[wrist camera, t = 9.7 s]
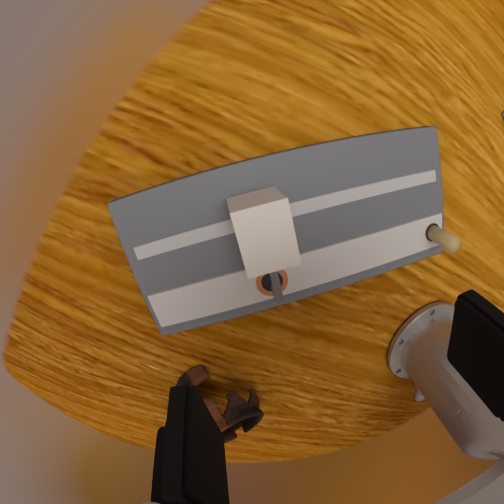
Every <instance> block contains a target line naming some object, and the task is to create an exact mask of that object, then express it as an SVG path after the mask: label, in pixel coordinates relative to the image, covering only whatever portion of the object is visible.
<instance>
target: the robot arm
mask: <svg viewBox="0 0 504 504" xmlns="http://www.w3.org/2000/svg"><path fill="white" fill-rule="evenodd" d="M387 361H388V365H389V368H390V369H391V371H392V372H393V374H395V375H396V376H397V377H400V378H411V379H412V381H413V382H414V383H415V384H414V385H415V387H416V388H415V393H414V399H415V400H416V401H422V400H424V399H426V400H427V402H428V403H429V405H430V406H431V407H432V409H433V410H434V412H435V413H436V415H437V416H438V417H439V419H440V420H441V422H442V423H443V425H444V426H445V428H446V429H447V430H448V432H449V434H450V435H451V436H452V438H453V439H454V441H455V442H456V444H457V445H458V447H459V448H460V450H461V451H462V452H463V453H465V454H466V455H468V456H470V457H473V458H478V459H495V460H498V462H497V463H496V464H495V465H493V466H492V467H491V468H489V469H488V470H486V471H485V472H483V473H482V474H481V475H479V476H478V477H476V478H475V479H474V480H472V481H470V482H469V483H467V484H466V485H464V486H463V487H461V488H459V489H458V490H456V491H454V492H453V493H451V494H449V495H448V496H446V497H444V498H443V499H441V500H439V501H437V502H436V503H434V504H504V313H503V312H502V311H501V310H499V309H498V308H497V307H495V306H494V305H493V304H492V303H490V302H489V301H488V300H486V299H485V298H484V297H482V296H481V295H480V294H478V293H477V292H476V291H474V290H468V291H466V292H464V293H462V294H460V295H459V296H458V297H457V301H456V302H455V306H453V305H452V304H451V303H449V302H445V301H439V302H434V303H431V304H429V305H426V306H425V307H423V308H421V309H419V310H418V311H417V312H416V313H414V314H413V315H412V316H411V317H410V318H409V319H408V320H407V321H406V322H405V323H404V324H403V325H402V326H401V327H400V329H399V330H398V332H397V333H396V335H395V336H394V338H393V340H392V342H391V344H390V347H389V350H388V356H387ZM141 504H229V495H228V483H227V473H226V461H225V448H224V439H223V435H222V432H221V430H220V429H219V427H218V425H217V424H216V422H215V420H214V419H213V417H212V415H211V413H210V412H209V410H208V408H207V406H206V405H205V403H204V401H203V399H202V397H201V396H200V394H199V392H198V390H197V388H196V387H193V388H191V387H190V385H189V384H185V385H180V386H174V387H171V388H170V394H169V403H168V412H167V422H166V427H161V428H159V430H158V432H157V439H156V448H155V458H154V468H153V480H152V494H151V502H146V503H141Z"/></svg>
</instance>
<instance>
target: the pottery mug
mask: <svg viewBox="0 0 504 504" xmlns="http://www.w3.org/2000/svg"><path fill="white" fill-rule="evenodd" d="M207 379H209V375H208V373H207V372H206V371H205V369H204V367H203V365H202V364H200V365H198V366H195V367H194V368H192V369H190V370H189V371H188V372H187V373H185V374H184V375H183V376H182V377H181V378H180V379H179V381H178V383H177V386H180V385H185V384H189V385H190V387H191V388H193V387H197V386H198V385H199V384H200V383H202V382H204V381H205V380H207ZM200 396H201V395H200ZM201 397H202V396H201ZM226 397H227V400H228V402H227V407H226V410H225V412H224V414H222V413H221V412H220V411H219V409H218V407H217V405H216V403H215V401H213V400H212V399H210V398H202V399H203V401H204V403H205V405H206V406H207V408H208V410H209V412H210V413H211V415H212V417H213V419H214V420H215V422H216V424H217V425H218V427H219V429H220V430H221V432H222V435H223V439H224V443H227V442H229V441H231V440H234V439H236V438H237V435H236V433H235V431H236V430H237V429H239V428H240V427H242V428H243V430H244V432H245V433H246V432H248V431H249V430H251V429H252V428H253V427H254V426H255V425H257V424H258V423H259V422H260V420H261V419H262V417H263V415H264V414H263V412H262V410H260V409H259V399H258V397H257V396H256V393H255V392H254V391H253V389H251V390H250V397H249V400H248V403H247V401H246V400H245V399H244V398H242V397H240V396H239V395H238V394H236V393H228V394H226ZM166 422H167V420H166ZM230 426H231V427H230ZM165 427H166V424H165Z"/></svg>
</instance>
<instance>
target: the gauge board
mask: <svg viewBox="0 0 504 504" xmlns="http://www.w3.org/2000/svg"><path fill="white" fill-rule="evenodd" d="M272 186H274V187H275V188H277V189H278V190H279V191H280V192H281V193H283V194H284V195H285V196H286V197H287V198H288V201H289V205H290V210H291V215H292V219H293V224H294V229H295V234H296V239H297V244H298V249H299V254H300V259H301V264H300V265H297V266H293V267H290V268H286V269H282V270H279V271H278V275H279V280H280V284H281V288H282V293H283V297H284V302H283V303H280V304H277V302H276V301H275V298H274V296H273V293H272V290H271V288H270V285H269V282H270V281H271V278H270V274H269V273H268V274H265V275H261V276H258V277H254V278H250V279H248V277H247V274H246V270H245V266H244V263H243V259H242V256H241V252H240V249H239V245H238V241H237V238H236V234H235V231H234V227H233V224H232V220H231V216H230V213H229V208H228V204H227V198H230V197H234V196H237V195H241V194H245V193H249V192H252V191H256V190H260V189H264V188H268V187H272ZM107 205H108V208H109V211H110V214H111V217H112V220H113V222H114V225H115V228H116V231H117V233H118V236H119V239H120V241H121V244H122V246H123V249H124V251H125V254H126V257H127V259H128V261H129V264H130V266H131V269H132V271H133V274H134V276H135V278H136V281H137V283H138V285H139V288H140V290H141V292H142V294H143V297H144V299H145V301H146V303H147V306H148V308H149V310H150V312H151V314H152V316H153V319H154V321H155V323H156V325H157V327H158V329H159V331H160V333H161V335H162V336H164V335H168V334H173V333H177V332H181V331H185V330H189V329H194V328H198V327H202V326H206V325H210V324H214V323H218V322H222V321H225V320H229V319H233V318H237V317H241V316H244V315H248V314H252V313H255V312H259V311H263V310H266V309H270V308H273V307H277V306H280V305H284V304H287V303H291V302H294V301H297V300H301V299H304V298H307V297H311V296H314V295H317V294H321V293H324V292H327V291H330V290H333V289H337V288H340V287H343V286H346V285H349V284H352V283H355V282H358V281H361V280H364V279H367V278H370V277H373V276H376V275H379V274H382V273H385V272H388V271H391V270H394V269H396V268H399V267H402V266H405V265H408V264H411V263H413V262H416V261H419V260H422V259H424V258H427V257H430V256H432V255H435V254H438V253H440V252H443V247H444V248H446V249H447V250H449V251H451V252H453V253H455V252H457V251H458V249H459V248H460V245H461V240H460V238H459V237H457V236H455V235H453V234H451V233H449V232H447V231H445V230H444V216H443V190H442V176H441V164H440V154H439V146H438V138H437V131H436V126H423V127H414V128H406V129H399V130H391V131H385V132H378V133H371V134H365V135H359V136H353V137H348V138H342V139H337V140H331V141H326V142H321V143H316V144H311V145H306V146H301V147H297V148H292V149H288V150H283V151H279V152H275V153H270V154H266V155H262V156H258V157H254V158H250V159H246V160H242V161H238V162H234V163H230V164H227V165H223V166H219V167H216V168H212V169H209V170H205V171H202V172H198V173H195V174H191V175H188V176H185V177H181V178H178V179H175V180H172V181H169V182H165V183H162V184H159V185H156V186H153V187H150V188H147V189H144V190H141V191H138V192H135V193H132V194H129V195H126V196H124V197H121V198H118V199H115V200H112V201H111V202H109V203H108V204H107Z"/></svg>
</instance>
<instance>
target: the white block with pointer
mask: <svg viewBox="0 0 504 504" xmlns="http://www.w3.org/2000/svg"><path fill="white" fill-rule="evenodd" d="M227 204H228V208H229V213H230V216H231V220H232V224H233V227H234V231H235V234H236V238H237V241H238V245H239V249H240V252H241V256H242V259H243V263H244V266H245V270H246V274H247V277H248V279H250V278H254V277H258V276H261V275H265V274H268V273H269V274H270V278H271V281H270V282H269V285H270V288H271V290H272V293H273V296H274V298H275V301H276V302H277V304H280V303H283V302H284V297H283V293H282V288H281V284H280V280H279V275H278V271H279V270H282V269H286V268H290V267H293V266H297V265H300V264H301V259H300V254H299V249H298V244H297V239H296V234H295V229H294V224H293V219H292V215H291V210H290V205H289V201H288V198H287V197H286V196H285V195H284V194H283V193H281V192H280V191H279V190H278V189H277V188H275V187H274V186H272V187H268V188H264V189H260V190H256V191H252V192H249V193H245V194H241V195H237V196H234V197H230V198H227Z"/></svg>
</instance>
